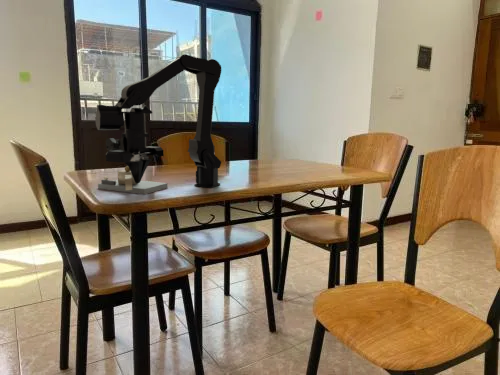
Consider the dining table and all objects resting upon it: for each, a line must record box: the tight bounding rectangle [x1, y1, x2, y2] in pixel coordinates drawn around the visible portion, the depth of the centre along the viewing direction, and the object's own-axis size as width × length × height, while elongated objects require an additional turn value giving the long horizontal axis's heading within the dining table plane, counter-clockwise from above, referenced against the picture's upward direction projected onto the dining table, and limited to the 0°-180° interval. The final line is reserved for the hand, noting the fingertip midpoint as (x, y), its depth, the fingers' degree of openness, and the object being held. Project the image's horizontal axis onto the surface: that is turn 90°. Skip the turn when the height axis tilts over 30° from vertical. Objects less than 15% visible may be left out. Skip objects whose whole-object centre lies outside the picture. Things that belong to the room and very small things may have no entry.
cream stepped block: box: [117, 165, 136, 190], centre depth 114 cm, size 16×6×5 cm, turn 18°
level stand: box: [97, 175, 169, 195], centre depth 119 cm, size 18×11×4 cm, turn 66°
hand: (137, 182), depth 113 cm, fingers closed
